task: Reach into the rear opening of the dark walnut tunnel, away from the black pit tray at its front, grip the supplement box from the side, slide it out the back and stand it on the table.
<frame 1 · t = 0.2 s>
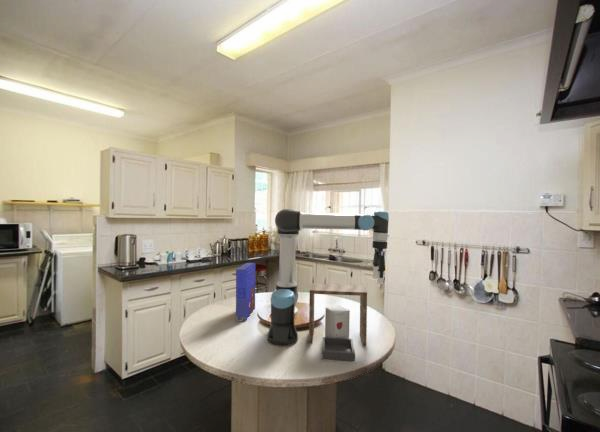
hand: (377, 281, 148), 27 cm above the table, tool pointing down, fingers open, 13 cm apart
supplement box: (337, 338, 142), on the table
cereal box: (245, 314, 174), on the table
pit tray: (337, 352, 127), on the table
tunnel: (337, 338, 142), on the table
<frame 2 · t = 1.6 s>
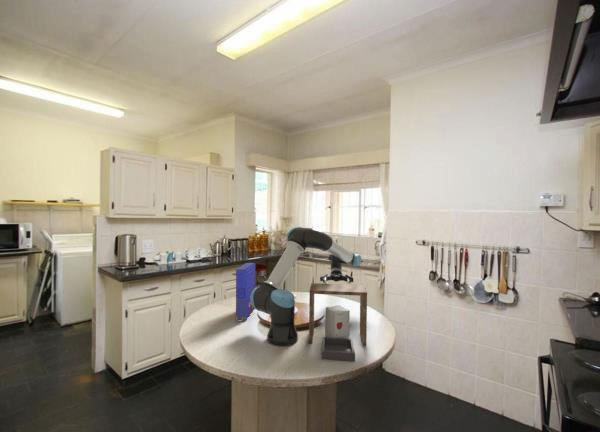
hand: (336, 282, 165), 22 cm above the table, tool horizontal, fingers open, 13 cm apart
nothing on the table moved.
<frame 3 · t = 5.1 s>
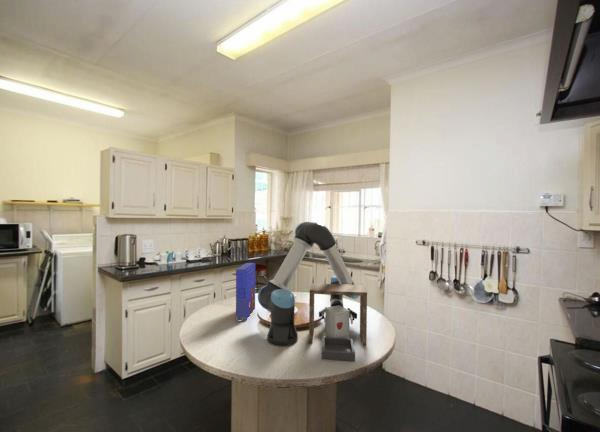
hand: (338, 320, 143), 8 cm above the table, tool horizontal, fingers open, 13 cm apart
supplement box: (337, 338, 142), on the table, touching gripper
everything else where it was.
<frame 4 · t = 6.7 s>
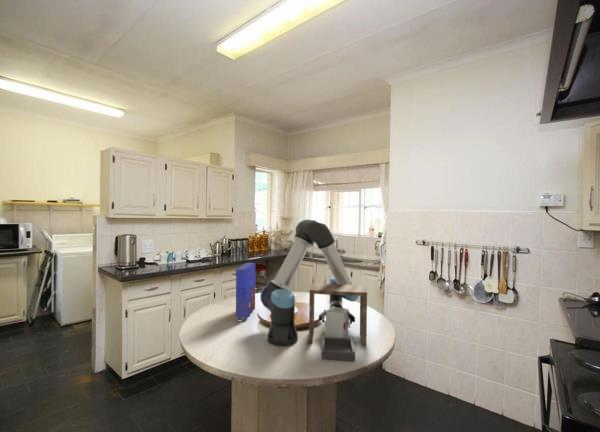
hand: (337, 324, 138), 9 cm above the table, tool horizontal, fingers closed on supplement box, 11 cm apart
supplement box: (336, 340, 140), on the table, touching gripper
everything else where it was.
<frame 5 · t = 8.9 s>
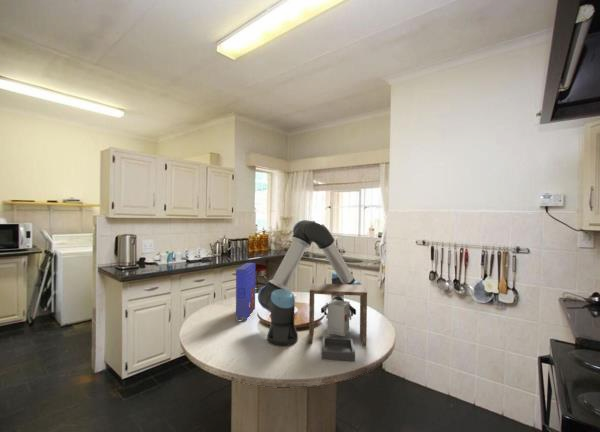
hand: (338, 316, 143), 11 cm above the table, tool horizontal, fingers closed on supplement box, 11 cm apart
supplement box: (338, 332, 145), point 2 cm above the table, touching gripper
everything else where it was.
when the fingers open (9 cm above the table, at t = 11.6 s): supplement box stays where it is, on the table.
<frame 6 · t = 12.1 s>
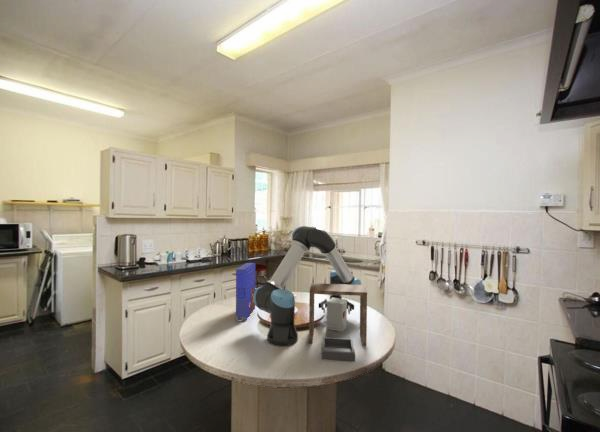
hand: (336, 311, 154), 10 cm above the table, tool horizontal, fingers open, 13 cm apart
supplement box: (336, 327, 155), on the table
everything else where it was.
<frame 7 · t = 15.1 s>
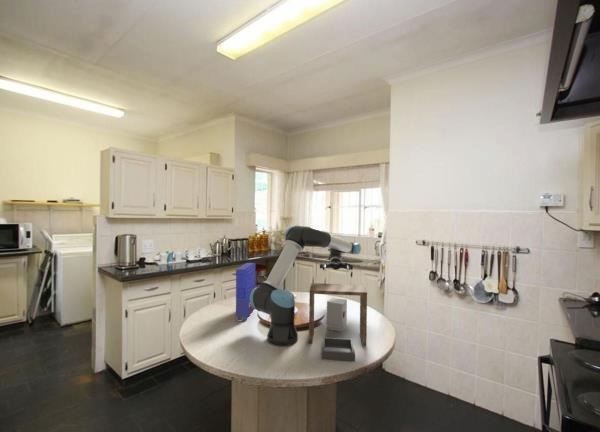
hand: (336, 269, 167), 30 cm above the table, tool horizontal, fingers open, 13 cm apart
nothing on the table moved.
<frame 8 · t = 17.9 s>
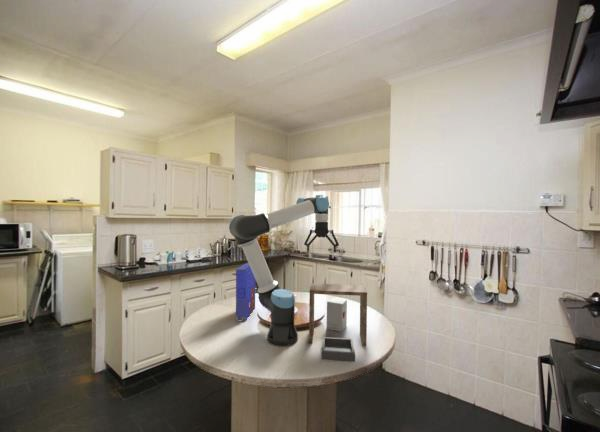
hand: (321, 257, 166), 37 cm above the table, tool pointing down, fingers open, 13 cm apart
nothing on the table moved.
at the end: supplement box inside the target area (3.2 cm from its centre), on the table; supplement box tilted 0°; the gripper is holding nothing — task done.
